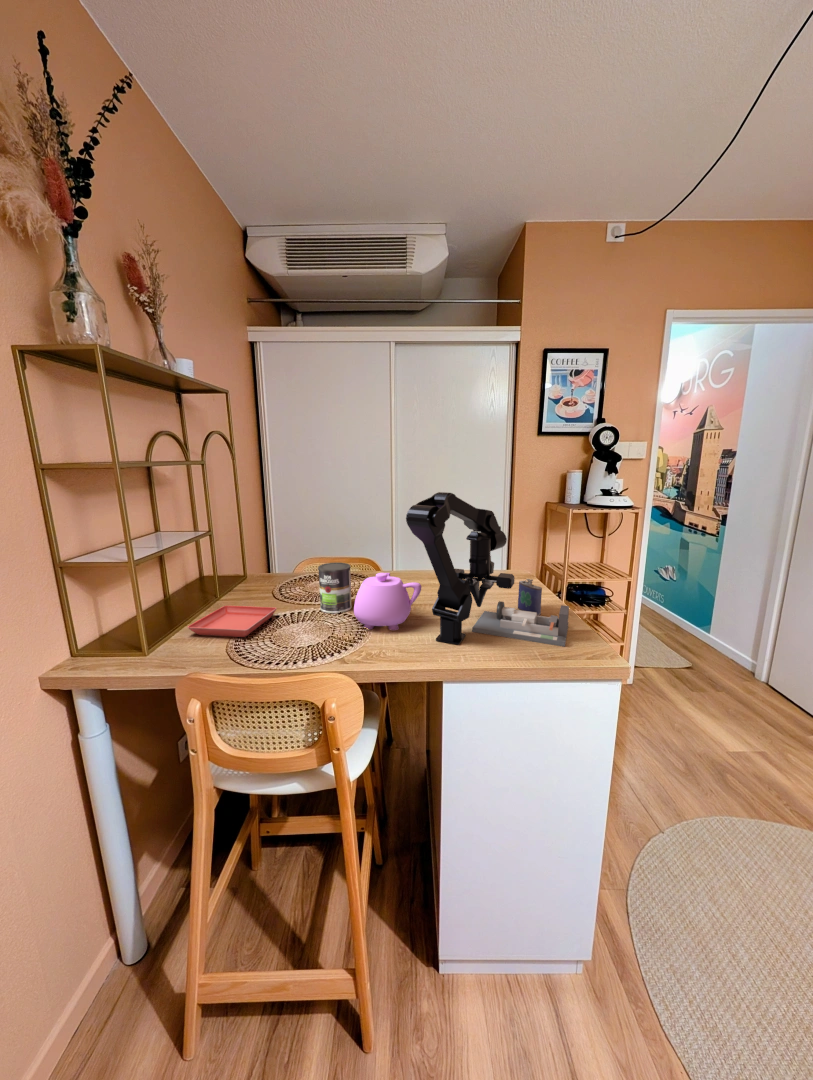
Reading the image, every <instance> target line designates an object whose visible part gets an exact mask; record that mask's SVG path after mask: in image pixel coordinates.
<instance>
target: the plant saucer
mask: <svg viewBox="0 0 813 1080" xmlns="http://www.w3.org/2000/svg"><path fill="white" fill-rule="evenodd" d="M277 609H278V608H277V607H276V606H275V607H274V606H273V607H272V606H270V607H269V606H253V605H252V606H249V605H247V606H246V605H223V606H221V607H219V608H217V609H215V610H214V611H213V612H211V613H208V614H207V615H205V616H203V617H201V618H199V619H198V620H195V622H192V623H191V624H189V625H188V626H187V629H189V630H190V631H192V632H193V633H194V634H197V635H198V636H211V637H212V636H214V637H229V638H230V637H233V638H234V637H235V638H246V637H248V635H250V634H251V633H253V632H254V631H256V630H257V629H258V628H259V627H260V626H262V625H263V624H265V623H266V622H267V621H268V620H269V619H271V618H272V616H273V615H274V614H275V612H276V610H277Z"/></svg>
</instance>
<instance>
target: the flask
mask: <svg viewBox="0 0 813 1080" xmlns="http://www.w3.org/2000/svg"><path fill="white" fill-rule="evenodd" d="M533 582H534V579H532V578H526V580H519V582H518V597H517V598H518V599H517V610H521V611H529V612H536V613H537V616H542V595H543V593H542V592H543V586H542V587H541V586H539V585H535V584H533Z"/></svg>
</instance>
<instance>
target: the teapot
mask: <svg viewBox="0 0 813 1080" xmlns="http://www.w3.org/2000/svg"><path fill="white" fill-rule="evenodd" d="M407 588H412V589H413V593H412V595H411V598H410V595H409V592H408V590H407ZM421 591H422V584H421V583H419V582H408V583H407V582H406V583H404V582H403V581H402V579H401V578H400V577H398V576H391V572H378V573H376V574H375V576H370V577H367V578H365V579H364V580H363V581H362V583H361V585H360V587H359V589H358V591H357V593H356V596H355V599H354V606H353V615H354V617H355V618H356V620H357V621H358V622H359V623H360V624H363V627H366V628H368V629H370V630H373V629H374V627H387V628H388V630H390V631H397V630H399V629H400V628H399V625H401V624H403V623H405V621H406V619H408V616H409V615H410V613H411V611H412V607H411V606H413V604H414V603H415V602H416V600H417V598H418V597H419V595H420V594H421Z"/></svg>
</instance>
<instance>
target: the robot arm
mask: <svg viewBox="0 0 813 1080" xmlns="http://www.w3.org/2000/svg"><path fill="white" fill-rule="evenodd" d="M451 515H452V516H454V517H455V518H458V519H460V520H461V521H463V524H464V526H466V528H467V529H469V530H472V531H471V532H470V533H469V534H468V535H467V536H466V540H467V541H469V558H468V563H469V572H465V570H464V569H462V568H455V567H454V564H453V561H452V558H451V555H450V552H449V551H448V548H447V544H446V541H445V539H444V535H443V534H444V531H445V528H446V522H447V521H448V520H449V519H450V517H451ZM405 521H406V525H407V526H408V528H409V530H410V531H411V533H412V534H413V535H414V536H415V537H417V539H418V540H420V541H421V542H422V544H423V547H424V548H425V552H426V554H427V556H428V558H429V562H430V564H431V566H432V569H433V572H434V573H435V576H436V579H437V581H438V584H439V587H438V590H437V597H436V600H435V602H434V603H433V606H432V608H431V612H432V615H433V616H437V617H439V625H440V626H439V630H440V631H439V634H438V636H437V637H435V641H436V642H440V643H445V644H453V645H460V644H461V642H462V641H463V640H464V639H465V637H466V635H467V634H466V633H465V632H463V622H464V621H466V620H467V619H470V614H471V611H472V604H473V599H474V603H475V604H476V607H478V608H481V607H482V605H483V602H484V599H485V596H486V594H487V592H488V590H491V589H492V588H493V586H494V585H495V584H496V586H497V587H498V588H499V589H507V590H509V589H512V588H513V586H514V584H515V575H514V574H513V573H504V572H500V573H499V574H498V575H492V574H494V569H495V562H494V561H492V555H491V552H492V551H495V550H499V549H501V548H503V547H504V546H506V544H507V541H508V540H507V536H506V534H505V532H504V531H503V530H502V527H501V525H500V526H499V523H498V520H497V517H496V515H495V513H494V511H492V510H489V509H484V508H477V507H475V506H473V505H471V504H470V503H468V502H466V501H465V500H463V499H461V498H460V497H457V496H456V494H455V493H453V492H445V491H444V492H443V491H438V492H436V493H434V494H433V495H431V496H430V497H428V498H425V499H423V500H421V501H419V502H418V503H417V502H416V504H413V505H411V506H410V508H409V509H408V511H407V512H406V517H405ZM480 582H481V585H480Z"/></svg>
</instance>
